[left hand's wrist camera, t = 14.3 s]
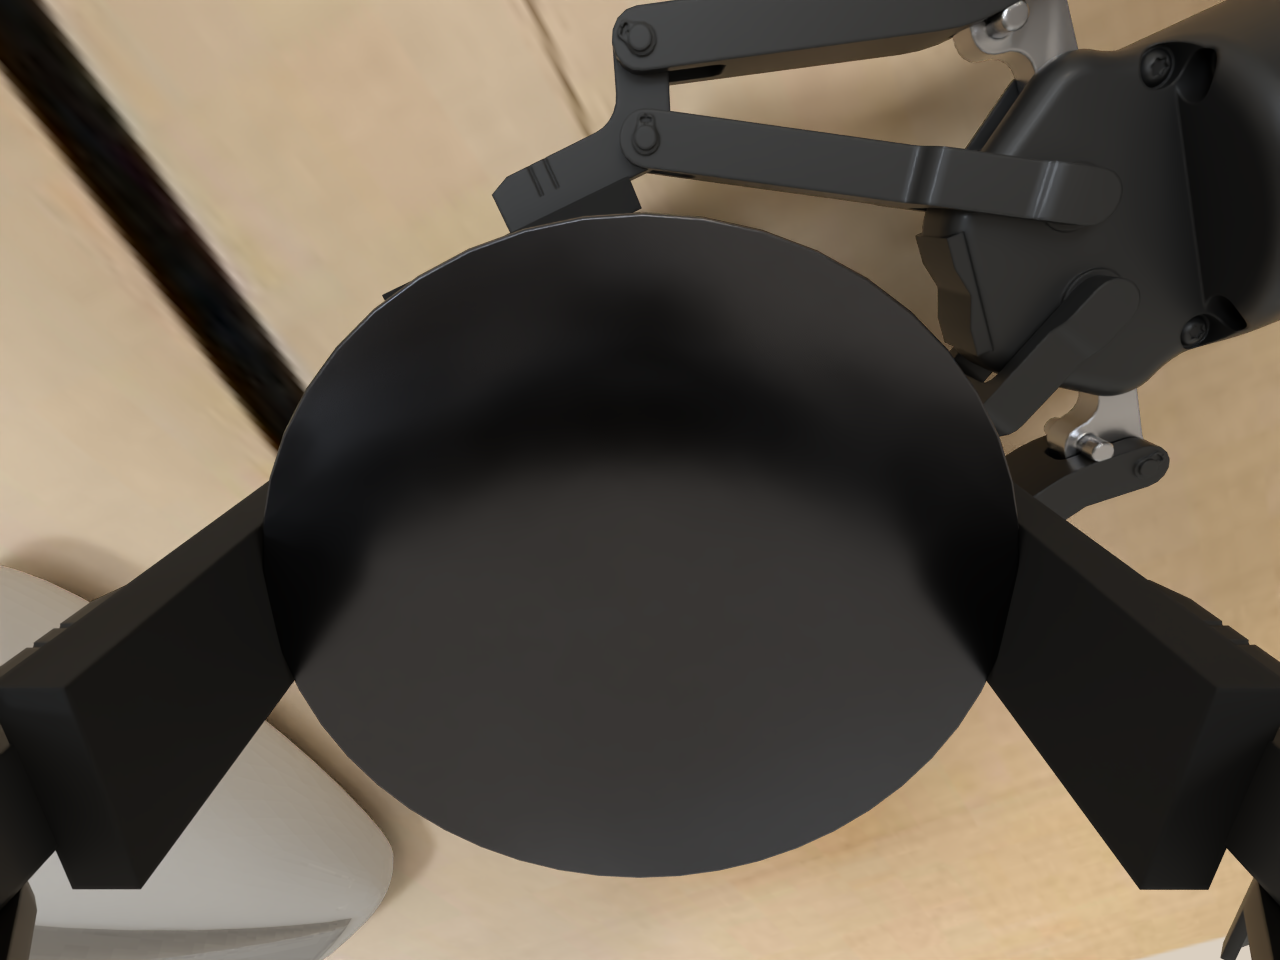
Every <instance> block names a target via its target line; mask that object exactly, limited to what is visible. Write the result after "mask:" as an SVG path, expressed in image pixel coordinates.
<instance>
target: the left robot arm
mask: <svg viewBox="0 0 1280 960" xmlns="http://www.w3.org/2000/svg"><path fill="white" fill-rule="evenodd" d="M268 485H269V481H268V482H267V483H265V484H264V485H263V486H261V487H260V488H258V489H257V490H256V491H254V492H253V493H252V494H250V495H249V496H248V497H246V498H245V499H243V500H242V501H241V502H239V503H238V504H237V505H235V506H234V507H232V508H231V509H230V510H228V511H227V512H226V513H224V514H223V515H222V516H220V517H219V518H217V519H216V520H215V521H213V522H212V523H211V524H209V525H208V526H206V527H205V528H204V529H202V530H201V531H200V532H198V533H197V534H196V535H194V536H193V537H191V538H190V539H189V540H187V541H186V542H185V543H183V544H182V545H180V546H179V547H178V548H176V549H175V550H174V551H172V552H171V553H169V554H168V555H167V556H165V557H164V558H163V559H161V560H160V561H159V562H157V563H156V564H154V565H153V566H152V567H150V568H149V569H148V570H146V571H145V572H143V573H142V574H141V575H139V576H138V577H137V578H135V579H134V580H133V581H131V582H130V583H128V584H127V585H125V586H123V587H121V588H119V589H117V590H115V591H113V592H110V593H108V594H106V595H104V596H102V597H100V598H97V599H95V600H93V601H91V602H90V603H88V604H87V605H86V606H84V607H83V608H81V609H80V610H79V611H77V612H76V613H74V614H73V615H72V616H70V617H69V618H67V619H66V620H65V621H63V622H62V623H60V628H53V629H52V630H50V631H49V632H48V633H46V634H45V635H43V636H42V637H41V638H39V639H38V640H36V641H35V642H34V645H33V647H32V648H25V649H24V650H22V651H21V652H20V653H18V654H17V655H15V656H14V657H13V658H11V659H10V660H8V661H7V662H6V663H4V664H3V665H1V666H0V960H29V955H30V949H31V944H32V938H33V932H34V926H35V920H36V914H37V906H36V900H35V895H34V893H33V891H32V889H31V886H30V884H29V882H28V880H29V879H30V878H31V877H32V876H33V875H34V874H35V872H36V871H37V870H38V869H39V868H40V867H41V866H42V865H43V864H44V863H45V862H46V860H47V859H48V858H49V857H50V856H51V855H52V854H53V853H54V852H55V851H56V853H57V855H58V857H59V860H60V862H61V864H62V866H63V869H64V871H65V873H66V876H67V878H68V880H69V883H70V885H71V887H72V889H142V887H143V886H144V885H145V883H146V882H147V881H148V879H149V878H150V876H151V875H152V874H153V872H154V871H155V870H156V868H157V867H158V866H159V864H160V863H161V861H162V860H163V859H164V857H165V856H166V855H167V853H168V852H169V851H170V849H171V848H172V846H173V845H174V844H175V842H176V841H177V840H178V838H179V837H180V836H181V834H182V833H183V831H184V830H185V829H186V827H187V826H188V825H189V823H190V822H191V821H192V819H193V818H194V816H195V815H196V814H197V812H198V811H199V810H200V808H201V807H202V806H203V804H204V803H205V802H206V800H207V799H208V797H209V796H210V795H211V793H212V792H213V791H214V789H215V788H216V787H217V785H218V784H219V782H220V781H221V780H222V778H223V777H224V776H225V774H226V773H227V772H228V770H229V769H230V767H231V766H232V765H233V763H234V762H235V761H236V759H237V758H238V757H239V755H240V754H241V752H242V751H243V750H244V748H245V747H246V746H247V744H248V743H249V742H250V740H251V739H252V737H253V736H254V735H255V733H256V732H257V731H258V729H259V728H260V727H261V725H262V724H263V722H264V721H265V720H266V718H267V717H268V716H269V714H270V713H271V712H272V710H273V709H274V708H275V706H276V705H277V703H278V702H279V701H280V699H281V698H282V697H283V695H284V694H285V693H286V691H287V690H288V688H289V687H290V686H291V684H292V683H293V682H294V678H293V675H292V673H291V671H290V669H289V667H288V665H287V663H286V660H285V658H284V656H283V654H282V651H281V647H280V643H279V639H278V635H277V631H276V627H275V623H274V619H273V615H272V610H271V606H270V602H269V597H268V593H267V588H266V583H265V578H264V574H263V518H264V511H265V505H266V498H267V492H268ZM1013 486H1014V493H1015V500H1016V507H1017V514H1018V521H1019V567H1018V573H1017V577H1016V582H1015V587H1014V591H1013V595H1012V599H1011V604H1010V608H1009V612H1008V617H1007V621H1006V625H1005V629H1004V634H1003V638H1002V642H1001V646H1000V650H999V654H998V657H997V660H996V662H995V664H994V666H993V668H992V670H991V672H990V674H989V676H988V678H987V680H986V681H987V682H988V683H989V685H990V686H991V687H992V689H993V690H994V692H995V693H996V694H997V696H998V697H999V698H1000V700H1001V701H1002V702H1003V704H1004V705H1005V707H1006V708H1007V709H1008V711H1009V712H1010V713H1011V715H1012V716H1013V717H1014V719H1015V720H1016V722H1017V723H1018V724H1019V726H1020V727H1021V728H1022V730H1023V731H1024V732H1025V734H1026V735H1027V737H1028V738H1029V739H1030V741H1031V742H1032V743H1033V745H1034V746H1035V747H1036V749H1037V750H1038V752H1039V753H1040V754H1041V756H1042V757H1043V758H1044V760H1045V761H1046V762H1047V764H1048V765H1049V766H1050V768H1051V769H1052V771H1053V772H1054V773H1055V775H1056V776H1057V777H1058V779H1059V780H1060V781H1061V783H1062V784H1063V786H1064V787H1065V788H1066V790H1067V791H1068V792H1069V794H1070V795H1071V796H1072V798H1073V799H1074V801H1075V802H1076V803H1077V805H1078V806H1079V807H1080V809H1081V810H1082V811H1083V813H1084V814H1085V816H1086V817H1087V818H1088V820H1089V821H1090V822H1091V824H1092V825H1093V826H1094V828H1095V829H1096V830H1097V832H1098V833H1099V835H1100V836H1101V837H1102V839H1103V840H1104V841H1105V843H1106V844H1107V845H1108V847H1109V848H1110V850H1111V851H1112V852H1113V854H1114V855H1115V856H1116V858H1117V859H1118V860H1119V862H1120V863H1121V865H1122V866H1123V867H1124V869H1125V870H1126V871H1127V873H1128V874H1129V875H1130V877H1131V878H1132V880H1133V881H1134V882H1135V884H1136V885H1137V886H1138V888H1139V889H1140V890H1209V887H1210V885H1211V883H1212V880H1213V878H1214V876H1215V873H1216V871H1217V869H1218V867H1219V864H1220V862H1221V860H1222V857H1223V855H1224V853H1225V850H1226V848H1227V849H1228V850H1229V851H1230V852H1231V853H1232V854H1233V855H1234V857H1235V858H1236V859H1237V860H1238V861H1239V862H1240V863H1241V864H1242V865H1243V866H1244V867H1245V869H1246V870H1247V871H1248V872H1249V873H1250V874H1251V875H1252V876H1253V877H1254V878H1253V880H1252V882H1251V884H1250V886H1249V889H1248V891H1247V893H1246V895H1245V897H1244V899H1243V902H1242V904H1241V906H1240V908H1239V910H1238V912H1237V914H1236V917H1235V919H1234V921H1233V923H1232V925H1231V927H1230V929H1229V932H1228V934H1227V936H1226V938H1225V940H1224V942H1223V947H1222V952H1221V958H1222V959H1224V960H1236V957H1237V955H1238V953H1239V951H1240V949H1241V947H1244V946H1247V945H1249V947H1250V953H1251V958H1252V960H1280V662H1279V661H1278V660H1276V659H1275V658H1273V657H1272V656H1270V655H1269V654H1268V653H1266V652H1265V651H1263V650H1262V649H1261V648H1259V647H1258V646H1256V645H1249V642H1248V641H1249V640H1248V639H1246V638H1245V637H1244V636H1242V635H1241V634H1239V633H1238V632H1237V631H1235V630H1234V629H1232V628H1231V627H1229V626H1223V625H1222V621H1221V620H1220V619H1218V618H1217V617H1215V616H1214V615H1213V614H1211V613H1210V612H1208V611H1207V610H1205V609H1204V608H1203V607H1201V606H1200V605H1198V604H1197V603H1196V602H1194V601H1193V600H1191V599H1190V598H1187V597H1185V596H1183V595H1181V594H1179V593H1177V592H1174V591H1172V590H1170V589H1168V588H1166V587H1164V586H1161V585H1159V584H1157V583H1155V582H1153V581H1151V580H1147V579H1146V578H1144V577H1143V576H1141V575H1140V574H1139V573H1137V572H1136V571H1135V570H1133V569H1132V568H1130V567H1129V566H1128V565H1126V564H1125V563H1124V562H1122V561H1121V560H1119V559H1118V558H1117V557H1115V556H1114V555H1113V554H1111V553H1110V552H1109V551H1107V550H1106V549H1104V548H1103V547H1102V546H1100V545H1099V544H1098V543H1096V542H1095V541H1093V540H1092V539H1091V538H1089V537H1088V536H1087V535H1085V534H1084V533H1083V532H1081V531H1080V530H1078V529H1077V528H1076V527H1074V526H1073V525H1072V524H1070V523H1069V522H1067V521H1066V520H1065V519H1063V518H1062V517H1061V516H1059V515H1058V514H1056V513H1055V512H1054V511H1052V510H1051V509H1050V508H1048V507H1047V506H1046V505H1044V504H1043V503H1041V502H1040V501H1039V500H1037V499H1036V498H1035V497H1033V496H1032V495H1030V494H1029V493H1028V492H1026V491H1025V490H1024V489H1022V488H1021V487H1020V486H1018V485H1017V484H1015V483H1014V482H1013Z"/></svg>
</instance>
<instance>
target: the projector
mask: <svg viewBox="0 0 1280 960" xmlns="http://www.w3.org/2000/svg"><path fill="white" fill-rule="evenodd" d="M88 603H90V602H88V601H87V600H85V599H83V598H81V597H79V596H78V595H76V594H73V593H71V592H69V591H67V590H65V589H63V588H61V587H59V586H57V585H55V584H53V583H51V582H48V581H46V580H44V579H41V578H38V577H36V576H33V575H30V574H28V573H25V572H22V571H20V570H17V569H13V568H9V567H5V566H2V565H0V666H1V665H3V664H4V663H6V662H7V661H8V660H10V659H11V658H13V657H14V656H15V655H17V654H18V653H20V652H21V651H22V650H24V649H25V648H32V647H33V645H34V642H35V641H36V640H38V639H39V638H41V637H42V636H43V635H45V634H46V633H48V632H49V631H50V630H52V629H53V628H60V623H62V622H63V621H65V620H66V619H67V618H69V617H70V616H72V615H73V614H74V613H76V612H77V611H79V610H80V609H81V608H83V607H84V606H86V605H87V604H88ZM393 864H394V855H393V851H392V847H391V845H390V843H389V841H388V840H387V838H386V837H385V835H384V834H383V832H382V831H381V830H380V828H379V827H378V826H377V825H376V824H375V823H374V821H373V820H372V819H371V818H370V817H369V816H368V815H367V813H366V812H365V811H364V810H363V809H362V808H361V807H360V806H359V805H358V804H357V803H356V802H355V801H354V800H353V799H352V798H351V797H350V796H349V795H348V794H347V793H346V791H345V790H344V789H343V788H342V787H341V786H339V785H338V784H337V783H336V782H335V781H334V780H333V779H332V778H331V777H330V776H329V775H328V774H327V773H326V772H325V771H324V770H323V769H322V768H320V767H319V766H318V765H317V764H316V763H315V762H314V761H313V760H312V759H311V758H309V757H308V756H307V755H306V754H305V753H304V752H303V751H301V750H300V749H299V748H298V747H297V746H296V745H295V744H293V743H292V742H291V741H290V740H289V739H288V738H287V737H285V736H284V735H283V734H282V733H281V732H279V731H278V730H277V729H276V728H274V727H273V726H272V725H271V724H269V723H268V722H267V721H266V720H265V721H264V722H263V724H262V725H261V727H260V728H259V729H258V731H257V732H256V733H255V735H254V736H253V737H252V739H251V740H250V742H249V743H248V744H247V746H246V747H245V748H244V750H243V751H242V752H241V754H240V755H239V757H238V758H237V759H236V761H235V762H234V763H233V765H232V766H231V767H230V769H229V770H228V772H227V773H226V774H225V776H224V777H223V778H222V780H221V781H220V782H219V784H218V785H217V787H216V788H215V789H214V791H213V792H212V793H211V795H210V796H209V797H208V799H207V800H206V802H205V803H204V804H203V806H202V807H201V808H200V810H199V811H198V812H197V814H196V815H195V816H194V818H193V819H192V821H191V822H190V823H189V825H188V826H187V827H186V829H185V830H184V831H183V833H182V834H181V836H180V837H179V838H178V840H177V841H176V842H175V844H174V845H173V846H172V848H171V849H170V851H169V852H168V853H167V855H166V856H165V857H164V859H163V860H162V861H161V863H160V864H159V866H158V867H157V868H156V870H155V871H154V872H153V874H152V875H151V876H150V878H149V879H148V881H147V882H146V883H145V885H144V886H143V887H142V889H72V887H71V885H70V883H69V880H68V878H67V876H66V873H65V871H64V869H63V866H62V864H61V862H60V860H59V857H58V855H57V853H56V851H55V852H54V853H53V854H52V855H51V856H50V857H49V858H48V859H47V860H46V862H45V863H44V864H43V865H42V866H41V867H40V868H39V869H38V870H37V871H36V872H35V874H34V875H33V876H32V877H31V878H30V879H29V880H28V882H29V884H30V886H31V889H32V891H33V893H34V895H35V900H36V906H37V914H36V920H35V926H34V932H33V938H32V944H31V949H30V955H29V960H323V959H325V958H326V957H327V956H329V955H330V954H331V953H333V952H334V951H335V950H336V949H337V948H338V947H340V946H341V945H342V944H343V943H344V942H345V941H346V940H348V939H349V938H350V937H351V936H352V935H353V934H354V933H355V932H356V931H357V930H358V929H359V928H360V927H361V926H362V925H363V924H364V923H365V922H366V921H367V920H368V919H369V918H370V917H371V916H372V914H373V913H374V912H375V910H376V909H377V908H378V906H379V905H380V904H381V902H382V900H383V898H384V897H385V895H386V893H387V890H388V888H389V885H390V882H391V878H392V873H393Z"/></svg>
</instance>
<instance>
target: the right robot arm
mask: <svg viewBox="0 0 1280 960" xmlns="http://www.w3.org/2000/svg"><path fill="white" fill-rule="evenodd" d="M951 38H953V40H954V44H955V47H956V49H957V51H958V54H959V55H960V56H961V57H962V58H963V59H965V60H967V61H969V62H974V63H978V62H983V61H987V60H1000V61H1002V62H1004V63H1006V64H1007V65H1008V66H1009V68H1010V69H1011V70H1012V73H1013V75H1014V78H1015V79H1014V80H1013V81H1012V82H1011V83H1010V84H1009V85H1008V87H1007V88H1006V89H1005V91H1004V92H1003V94H1002V95H1001V97H1000V98H999V100H998V101H997V103H996V104H995V106H994V107H993V109H992V110H991V111H990V113H989V114H988V116H987V117H986V119H985V120H984V122H983V123H982V125H981V126H980V128H979V129H978V131H977V132H976V133H975V135H974V136H973V138H972V139H971V141H970V142H969V144H968V145H967V147H966V148H965V149H960V148H953V147H943V146H917V145H909V144H902V143H895V142H888V141H881V140H873V139H866V138H859V137H852V136H845V135H838V134H831V133H824V132H816V131H809V130H802V129H795V128H788V127H781V126H774V125H767V124H759V123H752V122H745V121H738V120H731V119H724V118H717V117H710V116H702V115H695V114H688V113H681V112H674V111H670V96H669V85H676V84H683V83H691V82H698V81H706V80H714V79H721V78H729V77H736V76H744V75H751V74H759V73H766V72H774V71H781V70H789V69H796V68H804V67H811V66H819V65H826V64H834V63H841V62H849V61H856V60H864V59H871V58H879V57H886V56H894V55H901V54H906V53H911V52H916V51H920V50H923V49H926V48H929V47H932V46H935V45H938V44H940V43H942V42H944V41H947V40H949V39H951ZM612 45H613V56H614V71H615V85H616V104H615V108H614V112H613V114H612V116H611V118H610V120H609V121H608V123H607V124H606V125H605V126H604V127H603V128H602V129H600V130H599V131H597V132H596V133H594V134H592V135H590V136H588V137H586V138H584V139H582V140H580V141H578V142H576V143H574V144H572V145H570V146H568V147H566V148H564V149H562V150H560V151H558V152H556V153H554V154H552V155H550V156H548V157H546V158H544V159H542V160H540V161H538V162H536V163H534V164H532V165H530V166H528V167H526V168H524V169H522V170H520V171H518V172H516V173H514V174H512V175H510V176H508V177H506V178H505V180H504V181H503V182H502V183H501V185H500V186H499V187H498V188H497V189H496V191H495V192H494V193H493V194H492V196H493V198H494V200H495V202H496V204H497V206H498V208H499V210H500V213H501V215H502V217H503V219H504V221H505V223H506V225H507V227H508V229H509V231H510V233H509V234H511V233H514V232H516V231H519V230H522V229H525V228H530V227H535V226H539V225H544V224H549V223H554V222H558V221H563V220H568V219H573V218H578V217H582V216H591V215H605V214H621V213H633V212H635V211H637V210H639V209H641V205H640V203H639V201H638V198H637V196H636V193H635V191H634V188H633V186H632V183H631V180H633V179H636V178H638V177H640V176H642V175H644V174H646V173H649V174H656V175H663V176H671V177H678V178H685V179H693V180H700V181H708V182H715V183H722V184H730V185H737V186H744V187H752V188H759V189H766V190H774V191H781V192H788V193H796V194H803V195H811V196H818V197H825V198H833V199H840V200H847V201H855V202H862V203H869V204H875V205H879V206H885V207H892V208H899V209H907V210H914V211H921V212H926V213H925V217H924V221H923V233H920V234H918V235H916V240H917V244H918V247H919V251H920V255H921V258H922V262H923V264H924V266H925V267H926V269H927V270H928V272H929V274H930V275H931V277H932V278H933V280H934V282H935V283H936V285H937V287H938V320H939V323H940V327H941V330H942V334H943V338H944V341H945V343H948V344H950V345H952V346H954V347H953V348H952V349H951V350H950V353H951V355H952V356H953V358H954V359H955V361H956V362H957V363H958V365H959V366H960V368H961V369H962V371H963V372H964V373H965V375H966V376H967V378H968V379H969V381H970V382H971V383H972V385H973V386H974V388H975V389H976V390H977V392H978V394H979V396H980V398H981V400H982V402H983V404H984V406H985V408H986V410H987V412H988V414H989V416H990V419H991V421H992V423H993V425H994V427H995V429H996V431H997V433H998V435H999V437H1000V436H1004V435H1009V434H1011V433H1013V432H1015V431H1016V430H1018V429H1019V428H1020V427H1021V426H1022V425H1023V424H1024V423H1025V422H1026V421H1027V420H1028V419H1029V418H1030V417H1031V416H1032V415H1033V414H1034V413H1035V412H1036V411H1037V410H1038V409H1039V407H1040V406H1041V405H1042V404H1043V403H1044V402H1045V401H1046V400H1047V399H1048V398H1049V397H1050V396H1051V395H1052V394H1053V393H1054V392H1055V391H1056V390H1057V388H1058V387H1060V388H1065V389H1069V390H1074V391H1078V392H1079V397H1078V400H1077V402H1076V404H1075V406H1074V407H1073V408H1072V409H1071V410H1070V411H1069V412H1068V413H1067V414H1065V415H1064V416H1062V417H1061V418H1057V417H1054V418H1052V419H1050V420H1048V421H1047V422H1046V424H1045V426H1044V432H1045V434H1046V436H1043V437H1040V438H1038V439H1035V440H1033V441H1031V442H1029V443H1027V444H1025V445H1023V446H1021V447H1019V448H1017V449H1016V450H1014V451H1013V452H1011V453H1009V454H1008V455H1006V456H1005V457H1006V460H1007V464H1008V467H1009V470H1010V473H1011V477H1012V480H1013V482H1014V483H1015V484H1017V485H1018V486H1020V487H1021V488H1022V489H1024V490H1025V491H1026V492H1028V493H1029V494H1030V495H1032V496H1033V497H1035V498H1036V499H1037V500H1039V501H1040V502H1041V503H1043V504H1044V505H1046V506H1047V507H1048V508H1050V509H1051V510H1052V511H1054V512H1055V513H1056V514H1058V515H1059V516H1061V517H1062V518H1063V519H1065V520H1066V519H1068V518H1069V517H1071V516H1072V515H1074V514H1075V513H1077V512H1078V511H1080V510H1081V509H1083V508H1084V507H1086V506H1089V505H1092V504H1095V503H1098V502H1101V501H1104V500H1107V499H1110V498H1114V497H1117V496H1120V495H1123V494H1126V493H1129V492H1132V491H1135V490H1138V489H1141V488H1144V487H1148V486H1150V485H1152V484H1154V483H1156V482H1158V481H1159V480H1160V479H1161V478H1162V477H1163V476H1164V475H1165V473H1166V471H1167V469H1168V467H1169V456H1168V454H1167V452H1166V451H1165V450H1164V449H1163V448H1161V447H1159V446H1157V445H1155V444H1153V443H1150V442H1148V441H1146V440H1144V439H1143V436H1142V428H1141V420H1140V412H1139V403H1138V395H1137V388H1138V387H1139V386H1141V385H1142V384H1144V383H1145V382H1146V381H1148V380H1149V379H1150V378H1151V377H1152V376H1153V375H1154V374H1155V373H1156V372H1157V371H1158V370H1159V369H1160V368H1161V367H1162V366H1163V365H1165V364H1166V363H1167V362H1168V361H1170V360H1171V359H1173V358H1174V357H1176V356H1177V355H1179V354H1180V353H1182V352H1185V351H1187V350H1190V349H1193V348H1196V347H1199V346H1203V345H1207V344H1210V343H1214V342H1218V341H1222V340H1225V339H1229V338H1232V337H1236V336H1239V335H1242V334H1245V333H1248V332H1251V331H1253V330H1256V329H1259V328H1261V327H1264V326H1266V325H1269V324H1271V323H1274V322H1276V321H1279V320H1280V0H1226V1H1224V2H1222V3H1219V4H1217V5H1215V6H1213V7H1211V8H1209V9H1206V10H1204V11H1202V12H1200V13H1198V14H1196V15H1193V16H1191V17H1189V18H1187V19H1185V20H1183V21H1180V22H1178V23H1176V24H1174V25H1172V26H1170V27H1167V28H1165V29H1163V30H1161V31H1159V32H1156V33H1154V34H1152V35H1150V36H1148V37H1146V38H1143V39H1141V40H1139V41H1137V42H1135V43H1133V44H1130V45H1128V46H1126V47H1124V48H1122V49H1119V50H1117V51H1097V50H1091V49H1078V46H1077V42H1076V38H1075V33H1074V29H1073V24H1072V20H1071V16H1070V11H1069V7H1068V2H1067V0H672V1H665V2H658V3H651V4H644V5H636V6H634V7H631V8H629V9H626V10H625V11H624V12H623V13H622V14H621V15H620V16H619V17H618V18H617V21H616V23H615V25H614V28H613V35H612ZM507 235H508V234H507ZM410 282H411V281H410ZM408 283H409V282H408ZM408 283H406V284H404V285H402V286H400V287H398V288H396V289H394V290H392V291H390V292H388V293H386V294H383V295H382V296H383V298H384V300H387V299H388V298H389V297H391V296H392V295H393V294H395V293H396V292H397V291H399V290H400V289H401V288H403V287H404V286H405V285H407V284H408ZM992 372H994V373H997V375H996V376H995V377H994V378H993V379H992V380H990V381H988V382H986V383H984V381H985V380H986V379H987V378H988V376H989V375H990V374H991V373H992Z"/></svg>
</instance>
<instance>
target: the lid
mask: <svg viewBox="0 0 1280 960" xmlns="http://www.w3.org/2000/svg"><path fill="white" fill-rule="evenodd" d="M1018 567H1019V521H1018V514H1017V507H1016V500H1015V493H1014V486H1013V480H1012V477H1011V473H1010V470H1009V467H1008V464H1007V460H1006V457H1005V454H1004V451H1003V447H1002V444H1001V441H1000V438H999V435H998V433H997V431H996V429H995V427H994V425H993V423H992V421H991V419H990V416H989V414H988V412H987V410H986V408H985V406H984V404H983V402H982V400H981V398H980V396H979V394H978V392H977V390H976V389H975V388H974V386H973V385H972V383H971V382H970V381H969V379H968V378H967V376H966V375H965V373H964V372H963V371H962V369H961V368H960V366H959V365H958V363H957V362H956V361H955V359H954V358H953V356H952V355H951V353H950V352H949V351H948V349H947V348H946V347H945V346H944V345H943V344H942V343H941V342H940V341H939V340H938V339H937V338H936V337H935V336H934V335H933V334H932V333H931V332H930V331H929V330H928V329H927V328H926V327H925V325H924V324H923V323H922V322H921V321H920V320H919V319H918V318H917V317H916V316H915V315H914V314H913V313H912V312H911V311H910V310H908V309H907V308H906V307H904V306H903V305H902V304H900V303H899V302H898V301H897V300H895V299H894V298H893V297H891V296H890V295H889V294H887V293H886V292H885V291H883V290H882V289H881V288H880V287H878V286H877V285H876V284H874V283H873V282H872V281H870V280H869V279H868V278H866V277H864V276H862V275H861V274H859V273H857V272H855V271H853V270H852V269H850V268H848V267H846V266H844V265H843V264H841V263H839V262H837V261H835V260H834V259H832V258H830V257H828V256H826V255H824V254H823V253H821V252H819V251H817V250H814V249H812V248H809V247H806V246H804V245H801V244H798V243H796V242H793V241H791V240H788V239H785V238H783V237H780V236H777V235H775V234H772V233H769V232H767V231H764V230H760V229H756V228H751V227H747V226H742V225H738V224H733V223H729V222H724V221H720V220H715V219H710V218H706V217H699V216H688V215H675V214H662V213H648V212H636V213H621V214H605V215H591V216H582V217H578V218H573V219H568V220H563V221H558V222H554V223H549V224H544V225H539V226H535V227H530V228H525V229H522V230H519V231H516V232H514V233H511V234H508V235H505V236H503V237H500V238H497V239H494V240H492V241H489V242H486V243H483V244H481V245H478V246H475V247H472V248H470V249H467V250H466V251H464V252H462V253H460V254H458V255H456V256H454V257H453V258H451V259H449V260H447V261H445V262H443V263H441V264H440V265H438V266H436V267H434V268H432V269H430V270H428V271H427V272H425V273H423V274H421V275H419V276H417V277H416V278H415V279H413V280H412V281H411V282H409V283H408V284H407V285H405V286H404V287H403V288H401V289H400V290H399V291H397V292H396V293H395V294H393V295H392V296H391V297H389V298H388V299H387V300H385V301H384V302H383V303H381V304H380V305H379V306H377V307H376V308H375V309H373V310H372V311H371V312H370V313H369V314H368V315H367V316H366V317H365V319H364V320H363V321H362V322H361V323H360V324H359V325H358V326H357V327H356V328H355V329H354V330H353V331H352V332H351V333H350V334H349V335H348V336H347V337H346V338H345V339H344V340H343V341H342V342H341V343H340V344H339V345H338V346H337V347H336V348H335V350H334V351H333V352H332V354H331V355H330V357H329V358H328V359H327V361H326V362H325V363H324V365H323V366H322V368H321V369H320V370H319V372H318V373H317V375H316V376H315V377H314V379H313V380H312V382H311V383H310V384H309V386H308V387H307V388H306V390H305V392H304V394H303V396H302V398H301V400H300V402H299V404H298V406H297V408H296V410H295V412H294V414H293V416H292V418H291V420H290V422H289V424H288V426H287V428H286V430H285V432H284V435H283V438H282V441H281V444H280V447H279V450H278V453H277V456H276V460H275V463H274V466H273V469H272V472H271V475H270V479H269V485H268V492H267V498H266V505H265V511H264V518H263V574H264V578H265V583H266V588H267V593H268V597H269V602H270V606H271V610H272V615H273V619H274V623H275V627H276V631H277V635H278V639H279V643H280V647H281V651H282V654H283V656H284V658H285V660H286V663H287V665H288V667H289V669H290V671H291V673H292V675H293V678H294V680H295V682H296V684H297V686H298V688H299V690H300V692H301V693H302V695H303V697H304V698H305V700H306V701H307V703H308V704H309V706H310V708H311V709H312V711H313V712H314V714H315V715H316V717H317V719H318V720H319V722H320V723H321V725H322V726H323V727H324V728H325V730H326V731H327V732H328V733H329V734H330V736H331V737H332V738H333V739H334V741H335V742H336V743H337V744H338V745H339V747H340V748H341V749H342V750H343V751H344V753H345V754H346V755H347V756H348V757H349V758H350V759H351V760H352V761H353V762H354V763H355V764H356V765H357V766H358V767H359V768H360V769H361V770H363V771H364V772H365V773H366V774H367V775H368V776H369V777H370V778H371V779H372V780H373V781H374V782H375V783H376V784H377V785H379V786H380V787H381V788H383V789H384V790H385V791H387V792H388V793H389V794H390V795H392V796H393V797H394V798H396V799H397V800H398V801H400V802H401V803H402V804H404V805H405V806H406V807H408V808H409V809H411V810H412V811H414V812H416V813H417V814H419V815H421V816H422V817H424V818H426V819H427V820H429V821H431V822H432V823H434V824H436V825H437V826H439V827H441V828H442V829H444V830H446V831H448V832H450V833H452V834H455V835H457V836H459V837H461V838H463V839H465V840H467V841H470V842H472V843H474V844H476V845H478V846H480V847H483V848H486V849H489V850H491V851H494V852H497V853H500V854H503V855H506V856H509V857H511V858H514V859H517V860H520V861H524V862H529V863H533V864H537V865H541V866H545V867H549V868H553V869H557V870H563V871H570V872H577V873H584V874H591V875H598V876H616V877H636V878H643V877H666V876H683V875H690V874H697V873H704V872H711V871H719V870H723V869H728V868H732V867H736V866H740V865H744V864H749V863H753V862H757V861H761V860H764V859H767V858H769V857H772V856H775V855H778V854H781V853H784V852H787V851H790V850H793V849H796V848H798V847H801V846H803V845H805V844H807V843H809V842H811V841H814V840H816V839H818V838H820V837H822V836H825V835H827V834H829V833H831V832H833V831H835V830H837V829H839V828H840V827H842V826H844V825H845V824H847V823H849V822H851V821H852V820H854V819H856V818H857V817H859V816H861V815H862V814H864V813H866V812H868V811H869V810H871V809H872V808H873V807H875V806H876V805H877V804H879V803H880V802H881V801H883V800H884V799H885V798H887V797H888V796H889V795H891V794H892V793H893V792H895V791H896V790H897V789H899V788H900V787H902V786H903V785H904V784H905V783H906V782H907V781H908V780H909V779H910V778H911V777H912V776H913V775H914V774H916V773H917V772H918V771H919V770H920V769H921V768H922V767H923V766H924V765H925V764H926V763H927V762H928V761H929V760H931V759H932V758H933V756H934V755H935V754H936V753H937V752H938V750H939V749H940V748H941V747H942V746H943V744H944V743H945V742H946V741H947V740H948V739H949V737H950V736H951V735H952V734H953V733H954V731H955V730H956V729H957V728H958V727H959V725H960V724H961V722H962V721H963V719H964V717H965V716H966V714H967V713H968V711H969V710H970V708H971V707H972V705H973V704H974V702H975V700H976V699H977V697H978V696H979V694H980V693H981V691H982V689H983V687H984V685H985V683H986V680H987V678H988V676H989V674H990V672H991V670H992V668H993V666H994V664H995V662H996V660H997V657H998V654H999V650H1000V646H1001V642H1002V638H1003V634H1004V629H1005V625H1006V621H1007V617H1008V612H1009V608H1010V604H1011V599H1012V595H1013V591H1014V587H1015V582H1016V577H1017V573H1018Z"/></svg>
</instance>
